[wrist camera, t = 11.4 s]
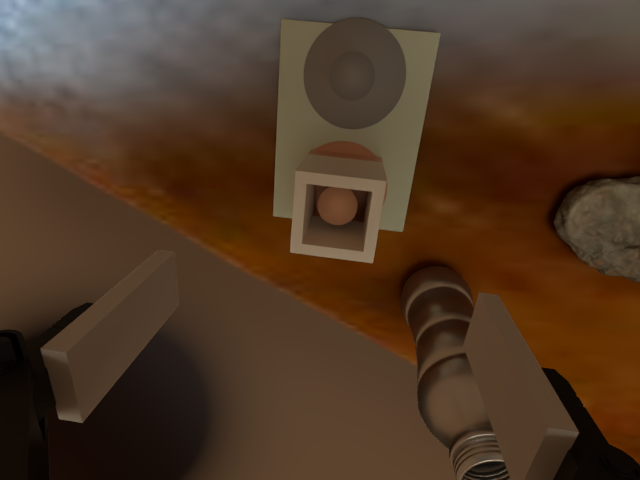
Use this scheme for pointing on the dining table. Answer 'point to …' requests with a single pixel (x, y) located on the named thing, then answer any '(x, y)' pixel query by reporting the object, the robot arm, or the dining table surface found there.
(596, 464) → the robot arm
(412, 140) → the board with round knobs
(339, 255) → the sleeve
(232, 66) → the dining table surface
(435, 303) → the plastic bottle
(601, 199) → the elongated rock
